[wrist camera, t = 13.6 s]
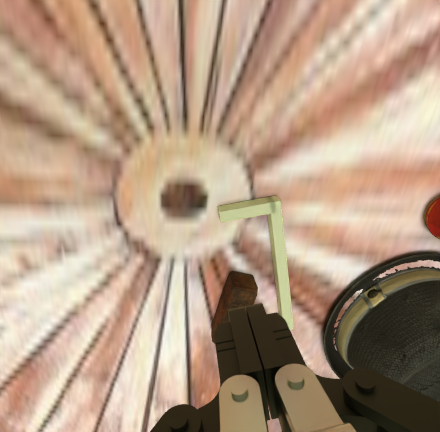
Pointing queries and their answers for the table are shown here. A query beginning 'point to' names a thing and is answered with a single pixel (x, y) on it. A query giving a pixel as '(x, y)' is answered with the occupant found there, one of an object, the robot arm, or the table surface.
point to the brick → (234, 297)
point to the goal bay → (277, 240)
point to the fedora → (391, 327)
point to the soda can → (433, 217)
